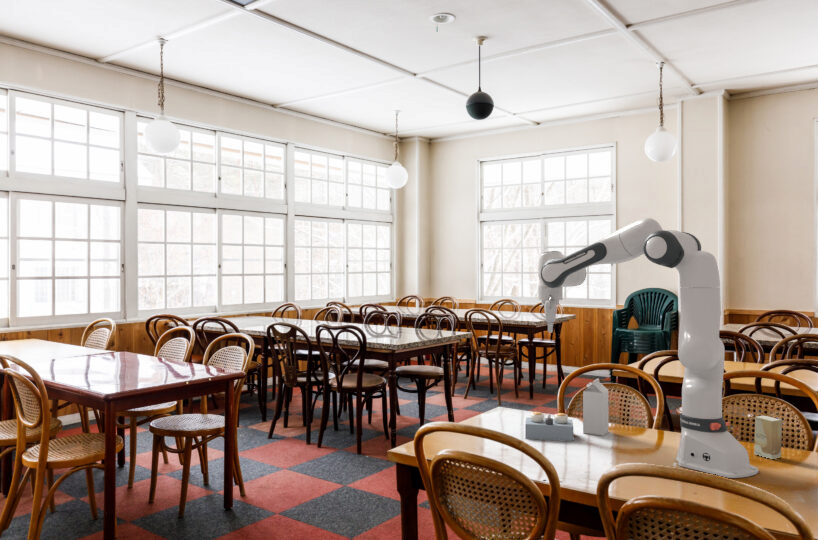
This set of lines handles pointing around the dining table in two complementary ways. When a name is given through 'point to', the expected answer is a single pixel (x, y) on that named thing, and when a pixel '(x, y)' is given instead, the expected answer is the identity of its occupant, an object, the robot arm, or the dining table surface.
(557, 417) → the knob
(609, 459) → the dining table surface
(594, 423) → the milk carton
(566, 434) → the mount
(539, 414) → the knob
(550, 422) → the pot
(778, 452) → the skincare box
